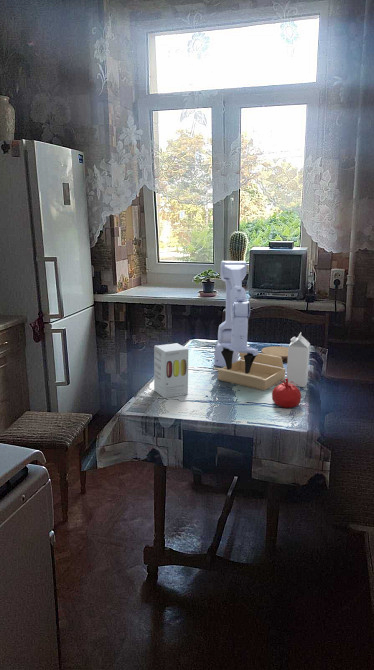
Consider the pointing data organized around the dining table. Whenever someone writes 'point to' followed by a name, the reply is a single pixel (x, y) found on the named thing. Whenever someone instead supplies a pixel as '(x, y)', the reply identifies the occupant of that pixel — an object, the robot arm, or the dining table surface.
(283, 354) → the wood log slice
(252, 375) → the front flap
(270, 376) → the carton
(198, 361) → the dining table surface
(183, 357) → the supplement box
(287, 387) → the pomegranate
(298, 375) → the milk carton
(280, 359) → the back flap
